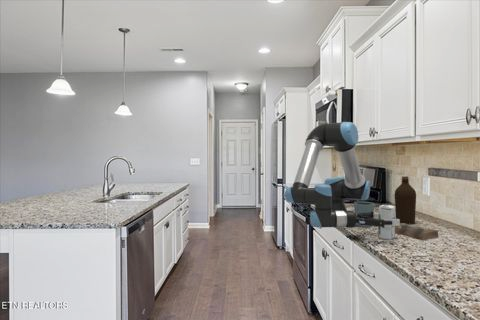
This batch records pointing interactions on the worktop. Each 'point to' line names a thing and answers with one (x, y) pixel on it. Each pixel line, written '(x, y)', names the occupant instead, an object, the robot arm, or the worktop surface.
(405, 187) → the olive oil
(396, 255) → the worktop surface
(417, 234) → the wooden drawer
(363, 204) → the grey-green tapered bin
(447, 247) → the worktop surface
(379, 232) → the syrup box
